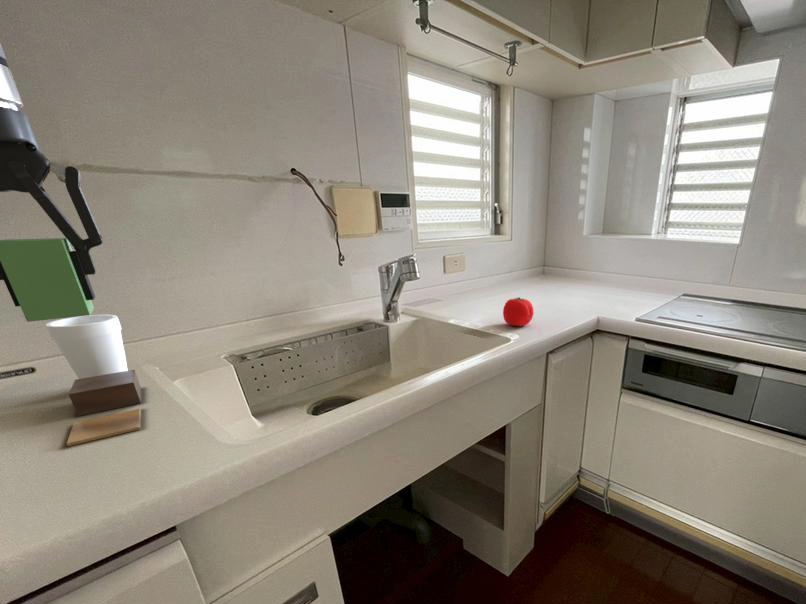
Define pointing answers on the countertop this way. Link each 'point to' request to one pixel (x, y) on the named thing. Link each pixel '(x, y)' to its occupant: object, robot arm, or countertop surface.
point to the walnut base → (105, 392)
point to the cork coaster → (104, 427)
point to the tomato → (518, 312)
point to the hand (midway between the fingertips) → (57, 301)
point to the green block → (44, 278)
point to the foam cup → (90, 344)
